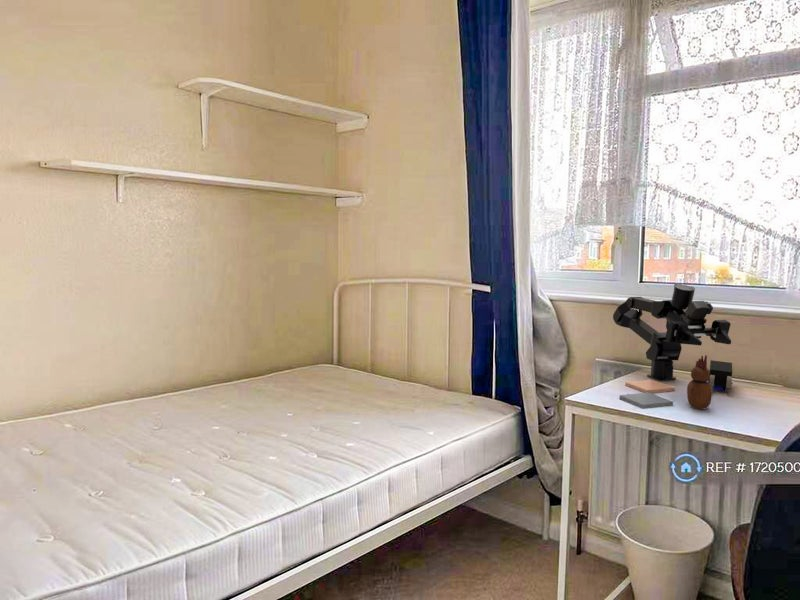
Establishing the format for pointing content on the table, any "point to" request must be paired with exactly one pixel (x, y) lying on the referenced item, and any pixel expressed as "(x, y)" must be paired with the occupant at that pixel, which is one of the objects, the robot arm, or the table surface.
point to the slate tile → (646, 400)
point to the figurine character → (720, 375)
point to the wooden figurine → (699, 386)
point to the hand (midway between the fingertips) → (715, 343)
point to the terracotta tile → (649, 386)
